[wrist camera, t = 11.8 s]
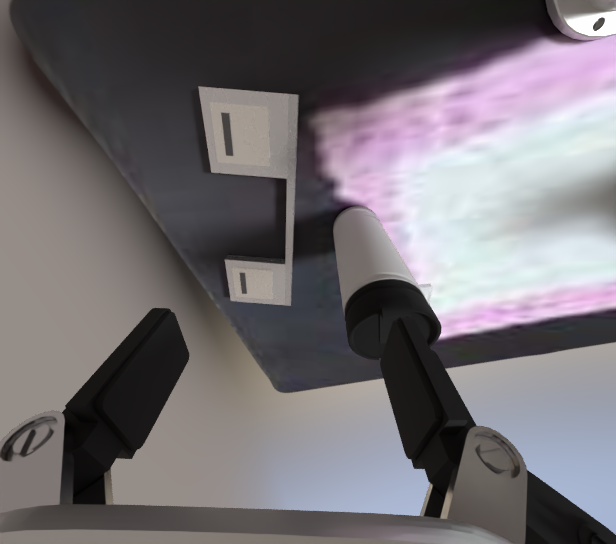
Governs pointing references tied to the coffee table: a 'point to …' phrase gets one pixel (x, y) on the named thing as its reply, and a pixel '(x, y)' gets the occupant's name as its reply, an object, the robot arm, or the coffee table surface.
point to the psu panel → (255, 162)
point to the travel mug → (376, 284)
